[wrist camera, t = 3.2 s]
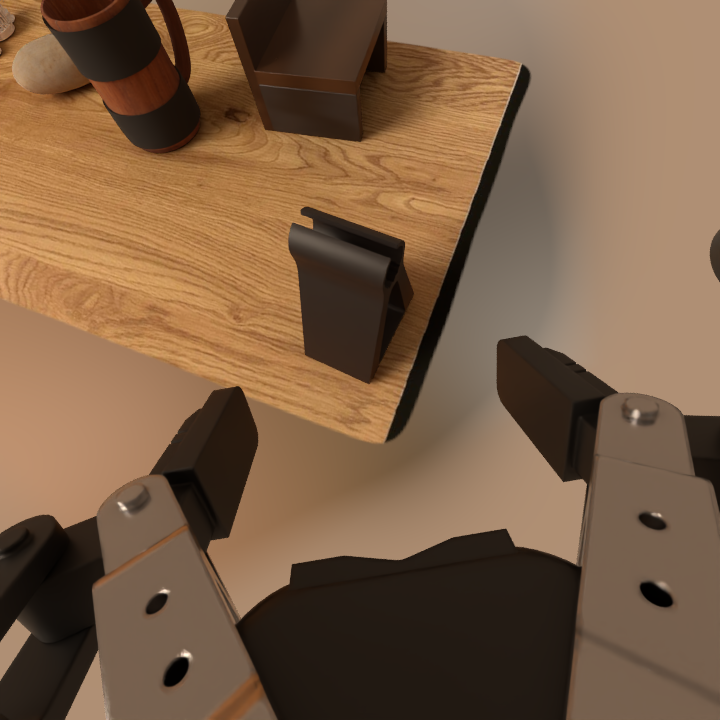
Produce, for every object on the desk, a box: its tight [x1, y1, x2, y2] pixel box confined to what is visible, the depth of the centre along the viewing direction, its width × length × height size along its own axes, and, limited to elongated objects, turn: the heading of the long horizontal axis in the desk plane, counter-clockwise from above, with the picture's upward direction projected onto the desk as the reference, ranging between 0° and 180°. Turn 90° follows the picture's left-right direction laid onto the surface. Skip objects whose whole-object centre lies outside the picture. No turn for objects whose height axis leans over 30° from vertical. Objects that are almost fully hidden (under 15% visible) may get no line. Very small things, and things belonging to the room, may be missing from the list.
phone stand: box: [289, 207, 414, 384], centre depth 24 cm, size 9×6×12 cm, turn 153°
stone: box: [12, 34, 91, 94], centre depth 41 cm, size 6×6×12 cm
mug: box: [41, 0, 200, 153], centre depth 35 cm, size 9×12×12 cm
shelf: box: [226, 0, 387, 142], centre depth 35 cm, size 11×12×10 cm
